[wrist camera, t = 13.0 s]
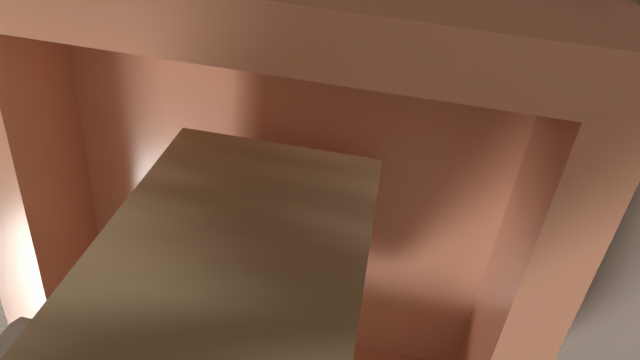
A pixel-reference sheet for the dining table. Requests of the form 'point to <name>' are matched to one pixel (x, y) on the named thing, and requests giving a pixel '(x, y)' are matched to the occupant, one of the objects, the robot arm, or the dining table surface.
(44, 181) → the tray
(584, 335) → the dining table surface
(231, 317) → the beige tall rectangular block
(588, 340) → the dining table surface
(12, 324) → the robot arm
